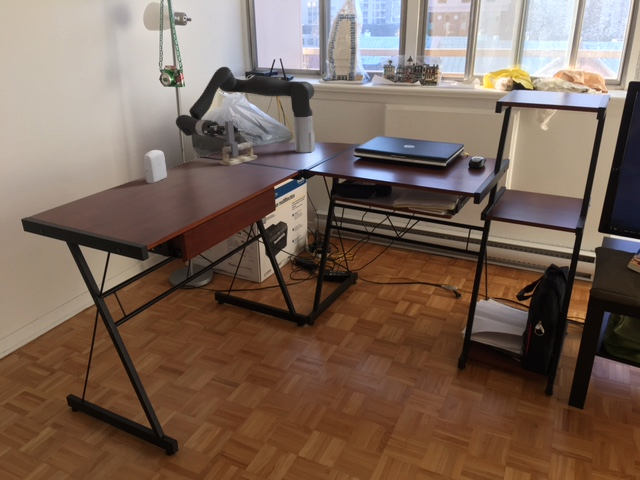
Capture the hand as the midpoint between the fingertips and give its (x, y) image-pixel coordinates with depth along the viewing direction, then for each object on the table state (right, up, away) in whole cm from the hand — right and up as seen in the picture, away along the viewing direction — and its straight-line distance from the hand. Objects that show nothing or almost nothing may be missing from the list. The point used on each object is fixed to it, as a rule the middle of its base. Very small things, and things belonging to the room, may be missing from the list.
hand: (230, 131), depth 245 cm
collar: (0, -10, +4) cm, 11 cm away
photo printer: (-27, -25, -21) cm, 42 cm away
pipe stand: (+3, -12, +8) cm, 15 cm away
